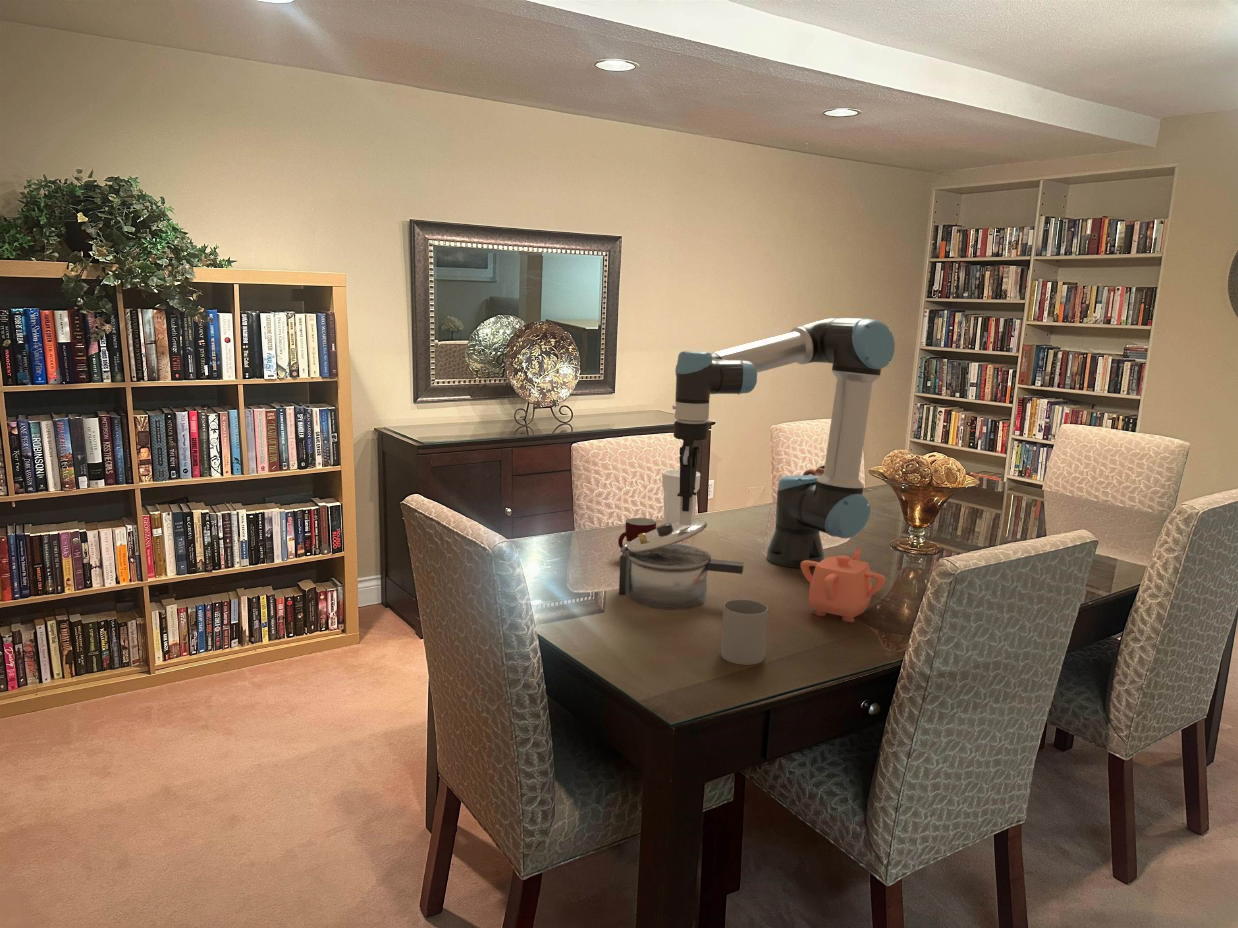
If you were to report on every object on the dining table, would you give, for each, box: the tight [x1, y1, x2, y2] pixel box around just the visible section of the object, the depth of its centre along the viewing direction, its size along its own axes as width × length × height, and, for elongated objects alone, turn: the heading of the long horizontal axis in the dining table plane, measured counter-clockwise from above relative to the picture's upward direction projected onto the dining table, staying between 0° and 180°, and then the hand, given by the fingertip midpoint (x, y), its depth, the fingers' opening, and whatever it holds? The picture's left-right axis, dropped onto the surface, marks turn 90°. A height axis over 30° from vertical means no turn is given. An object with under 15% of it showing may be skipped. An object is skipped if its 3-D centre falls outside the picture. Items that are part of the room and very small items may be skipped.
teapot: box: [800, 548, 887, 623], centre depth 195 cm, size 17×16×13 cm
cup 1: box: [661, 468, 701, 524], centre depth 261 cm, size 11×11×17 cm
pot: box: [618, 543, 745, 611], centre depth 201 cm, size 28×19×10 cm
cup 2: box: [720, 598, 769, 666], centre depth 169 cm, size 8×8×10 cm
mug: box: [617, 517, 657, 551], centre depth 230 cm, size 11×8×10 cm
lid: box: [620, 517, 708, 554], centre depth 200 cm, size 20×19×3 cm
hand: (685, 523), depth 199 cm, fingers closed
